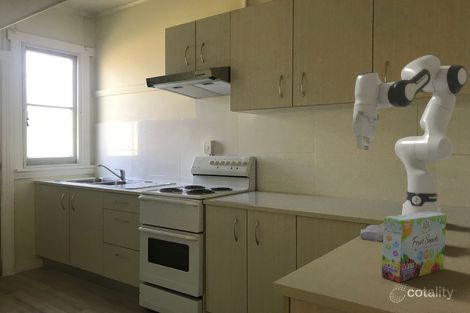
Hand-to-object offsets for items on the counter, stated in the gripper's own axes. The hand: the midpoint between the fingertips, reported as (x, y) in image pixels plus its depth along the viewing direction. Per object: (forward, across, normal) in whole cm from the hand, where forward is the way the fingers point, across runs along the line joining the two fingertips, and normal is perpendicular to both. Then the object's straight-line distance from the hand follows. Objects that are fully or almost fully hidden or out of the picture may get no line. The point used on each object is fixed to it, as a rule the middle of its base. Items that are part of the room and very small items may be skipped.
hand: (363, 149), depth 147 cm
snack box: (+34, -42, -27) cm, 60 cm away
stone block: (+33, -5, -9) cm, 34 cm away
